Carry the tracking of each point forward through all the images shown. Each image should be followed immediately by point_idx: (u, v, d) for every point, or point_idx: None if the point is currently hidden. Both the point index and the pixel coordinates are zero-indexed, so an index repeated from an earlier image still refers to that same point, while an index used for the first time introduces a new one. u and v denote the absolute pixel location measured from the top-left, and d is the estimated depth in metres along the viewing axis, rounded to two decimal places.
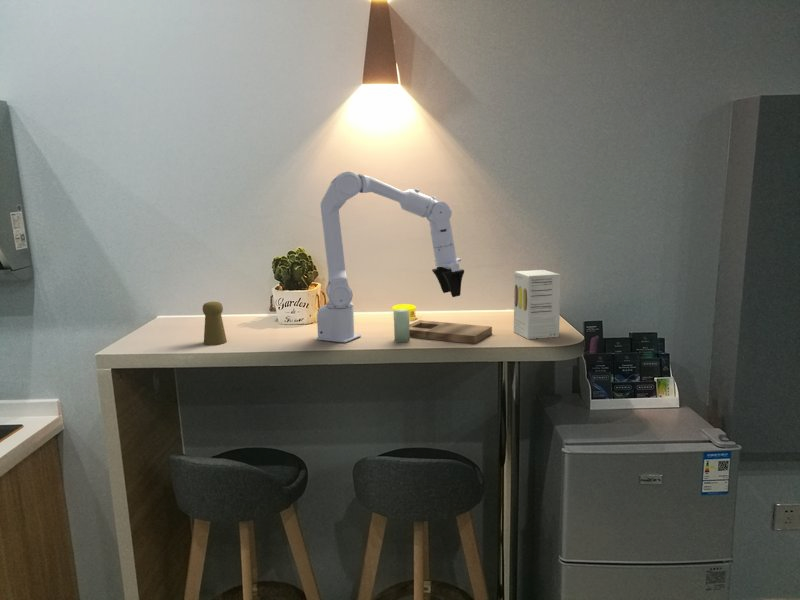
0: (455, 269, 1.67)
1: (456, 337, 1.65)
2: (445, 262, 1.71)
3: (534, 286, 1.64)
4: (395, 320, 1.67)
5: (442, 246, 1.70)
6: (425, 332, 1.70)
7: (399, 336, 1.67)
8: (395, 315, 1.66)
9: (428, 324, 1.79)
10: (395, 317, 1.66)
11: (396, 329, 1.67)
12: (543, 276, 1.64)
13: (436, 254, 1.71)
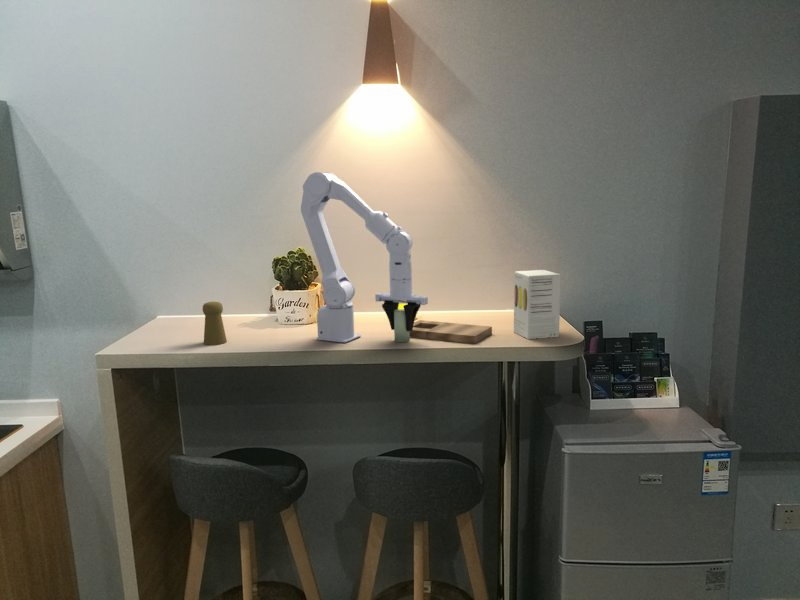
0: (425, 302, 1.63)
1: (456, 337, 1.65)
2: (408, 295, 1.64)
3: (534, 286, 1.64)
4: (395, 320, 1.67)
5: (407, 279, 1.64)
6: (425, 332, 1.70)
7: (399, 336, 1.67)
8: (395, 315, 1.66)
9: (428, 324, 1.79)
10: (395, 317, 1.66)
11: (396, 329, 1.67)
12: (543, 276, 1.64)
13: (399, 287, 1.63)
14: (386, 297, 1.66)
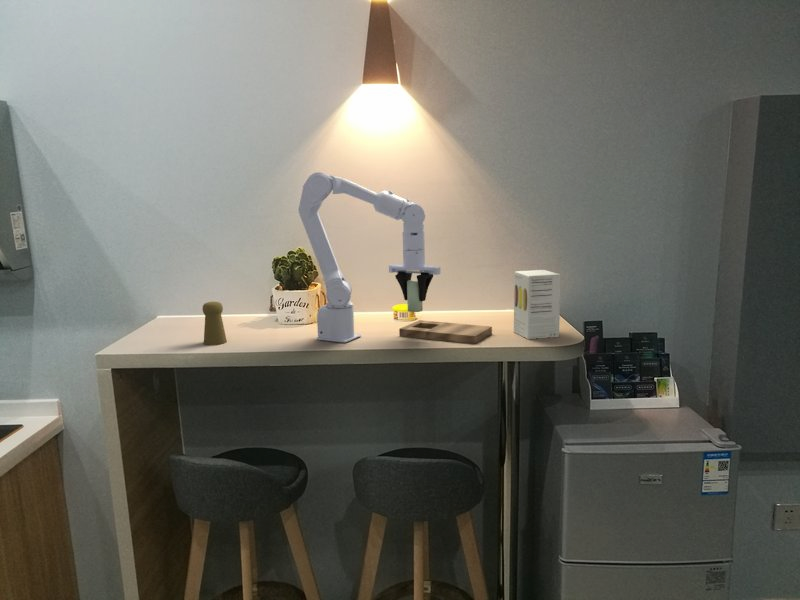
0: (438, 272, 1.66)
1: (456, 337, 1.65)
2: (421, 266, 1.67)
3: (534, 286, 1.64)
4: (408, 290, 1.70)
5: (420, 249, 1.66)
6: (425, 332, 1.70)
7: (412, 306, 1.69)
8: (408, 285, 1.69)
9: (428, 324, 1.79)
10: (408, 287, 1.69)
11: (409, 299, 1.70)
12: (543, 276, 1.64)
13: (412, 257, 1.66)
14: (399, 268, 1.69)
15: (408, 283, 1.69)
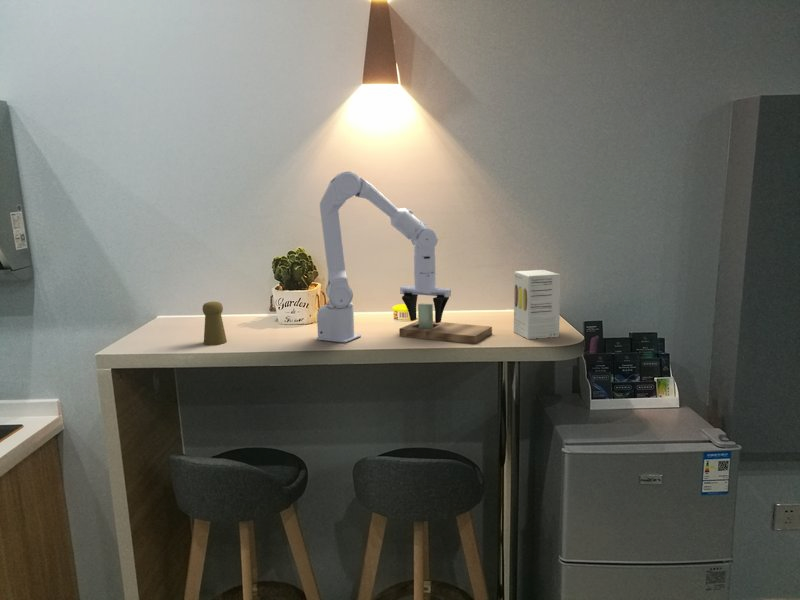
0: (449, 294, 1.71)
1: (456, 337, 1.65)
2: (432, 288, 1.72)
3: (534, 286, 1.64)
4: (419, 313, 1.74)
5: (431, 272, 1.71)
6: (425, 332, 1.70)
7: None
8: (419, 309, 1.74)
9: None
10: (419, 311, 1.74)
11: (420, 322, 1.74)
12: (543, 276, 1.64)
13: (423, 280, 1.71)
14: (411, 290, 1.74)
15: (419, 306, 1.74)
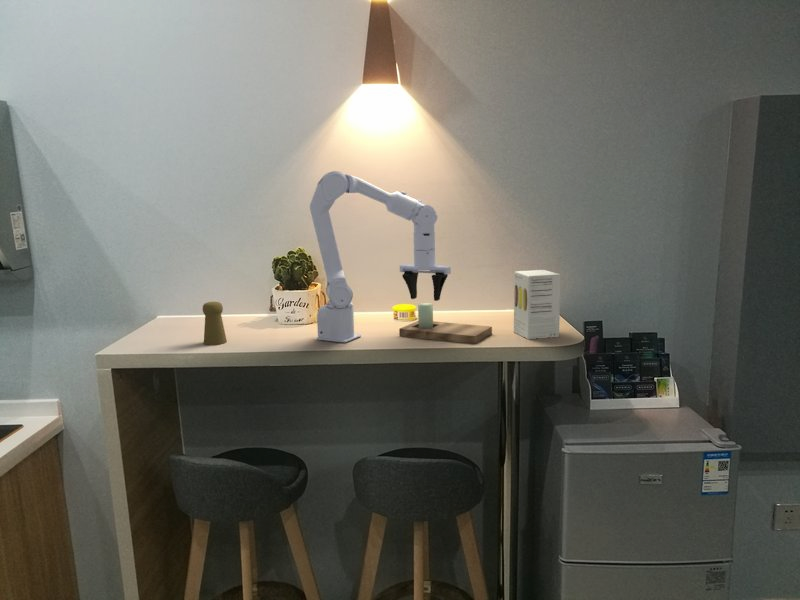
0: (448, 272, 1.70)
1: (456, 337, 1.65)
2: (431, 266, 1.71)
3: (534, 286, 1.64)
4: (419, 313, 1.74)
5: (431, 249, 1.70)
6: (425, 332, 1.70)
7: None
8: (419, 309, 1.74)
9: None
10: (419, 311, 1.74)
11: (420, 322, 1.74)
12: (543, 276, 1.64)
13: (423, 257, 1.70)
14: (410, 267, 1.73)
15: (419, 306, 1.74)
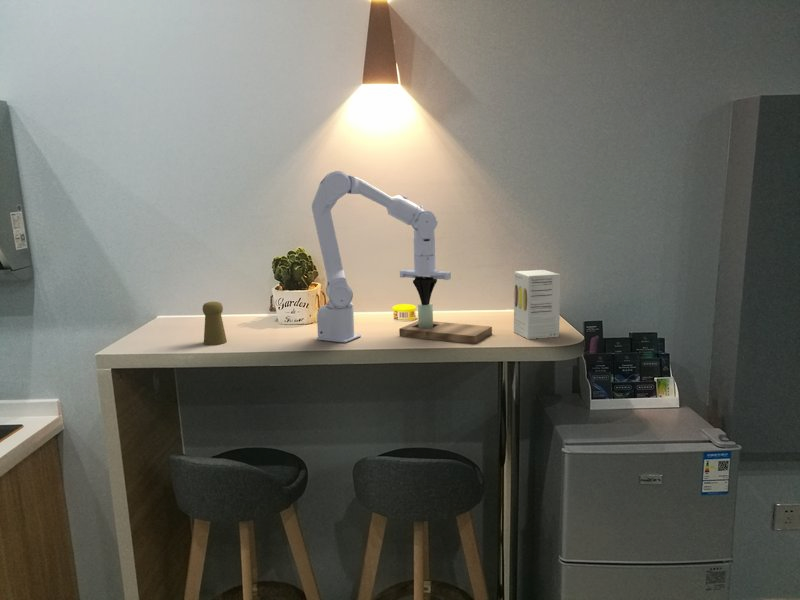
0: (449, 277, 1.70)
1: (456, 337, 1.65)
2: (431, 271, 1.71)
3: (534, 286, 1.64)
4: (419, 313, 1.74)
5: (431, 255, 1.70)
6: (425, 332, 1.70)
7: None
8: (419, 309, 1.74)
9: None
10: (419, 311, 1.74)
11: (420, 322, 1.74)
12: (543, 276, 1.64)
13: (423, 263, 1.70)
14: (410, 273, 1.73)
15: (419, 306, 1.74)
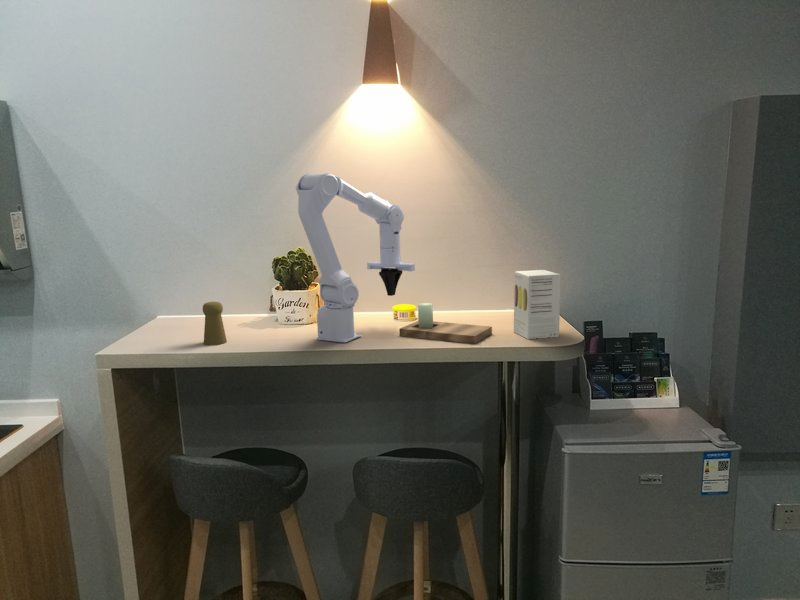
0: (412, 269, 1.78)
1: (456, 337, 1.65)
2: (396, 263, 1.79)
3: (534, 286, 1.64)
4: (419, 313, 1.74)
5: (396, 247, 1.78)
6: (425, 332, 1.70)
7: None
8: (419, 309, 1.74)
9: None
10: (419, 311, 1.74)
11: (420, 322, 1.74)
12: (543, 276, 1.64)
13: (388, 255, 1.78)
14: (377, 265, 1.81)
15: (419, 306, 1.74)
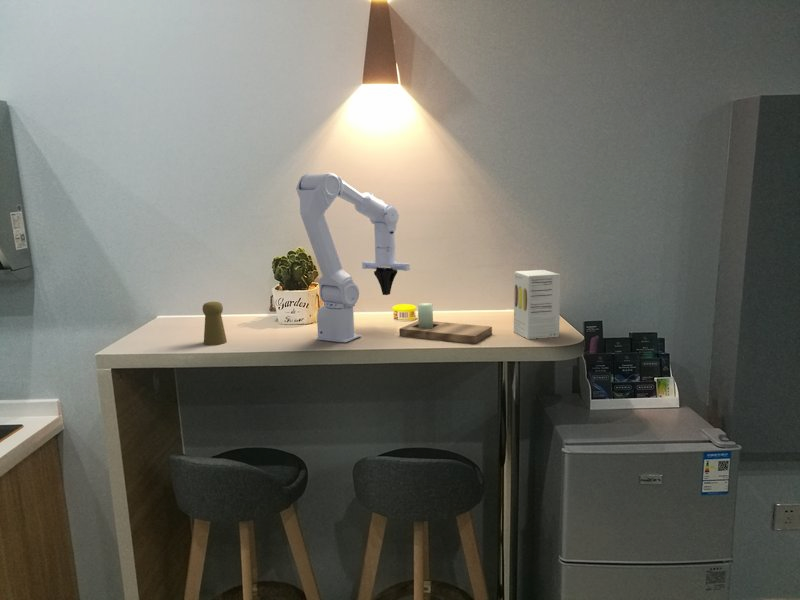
0: (407, 268, 1.79)
1: (456, 337, 1.65)
2: (391, 262, 1.80)
3: (534, 286, 1.64)
4: (419, 313, 1.74)
5: (390, 247, 1.79)
6: (425, 332, 1.70)
7: None
8: (419, 309, 1.74)
9: None
10: (419, 311, 1.74)
11: (420, 322, 1.74)
12: (543, 276, 1.64)
13: (383, 254, 1.79)
14: (372, 264, 1.82)
15: (419, 306, 1.74)
